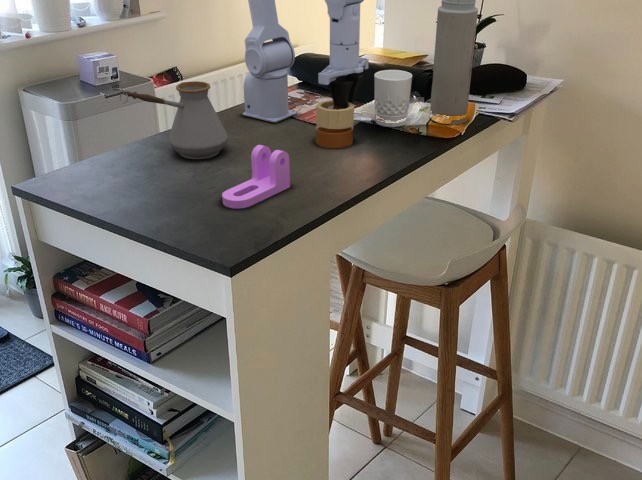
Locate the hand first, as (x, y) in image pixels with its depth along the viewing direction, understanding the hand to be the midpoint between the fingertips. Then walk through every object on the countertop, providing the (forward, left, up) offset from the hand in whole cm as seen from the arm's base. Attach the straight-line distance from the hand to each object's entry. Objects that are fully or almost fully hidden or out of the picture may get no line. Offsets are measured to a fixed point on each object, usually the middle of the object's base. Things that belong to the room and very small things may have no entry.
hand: (343, 112), depth 152 cm
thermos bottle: (+12, +23, -5) cm, 26 cm away
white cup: (+3, +14, -5) cm, 15 cm away
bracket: (+4, -33, -5) cm, 34 cm away
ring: (0, -3, -1) cm, 3 cm away
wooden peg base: (0, -3, -5) cm, 6 cm away
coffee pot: (-19, -28, -5) cm, 34 cm away
